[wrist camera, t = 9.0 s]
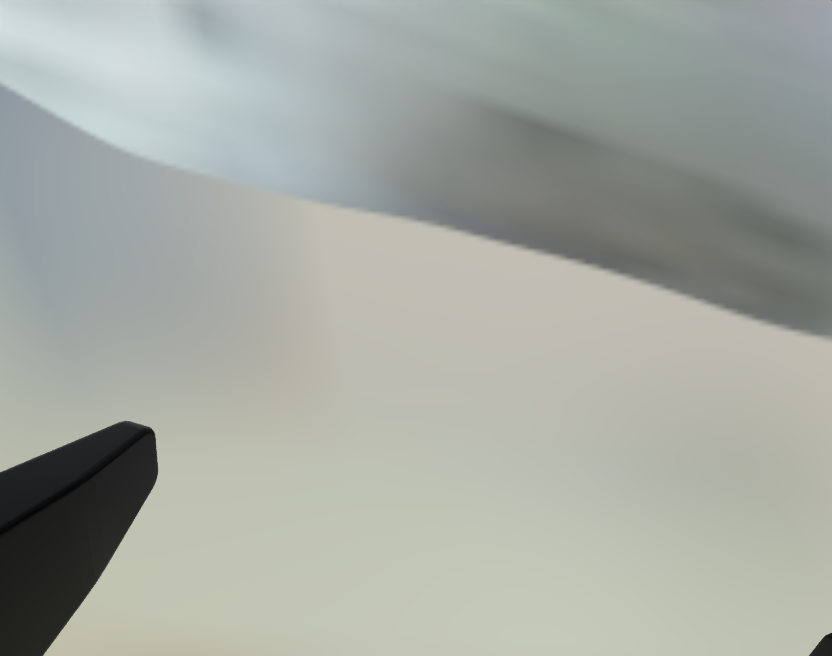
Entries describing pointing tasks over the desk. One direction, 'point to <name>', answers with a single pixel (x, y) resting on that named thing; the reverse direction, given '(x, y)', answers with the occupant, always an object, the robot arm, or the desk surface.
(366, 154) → the desk surface
